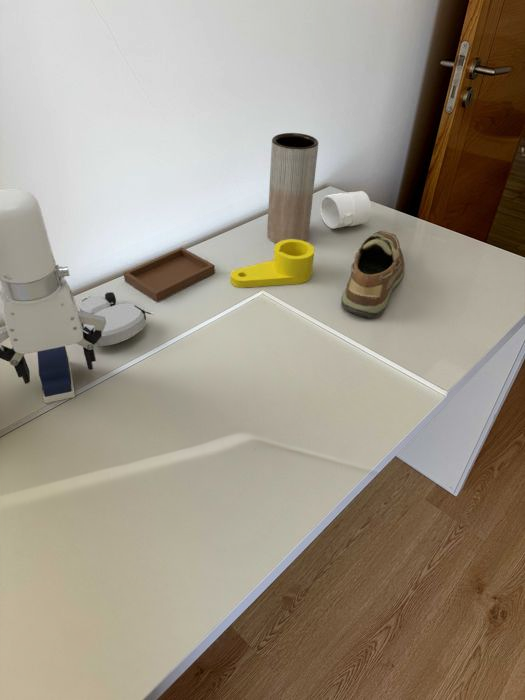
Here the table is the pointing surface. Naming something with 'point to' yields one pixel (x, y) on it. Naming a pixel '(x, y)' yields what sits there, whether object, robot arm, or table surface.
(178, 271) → the tray
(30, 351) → the robot arm
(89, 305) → the robot toy
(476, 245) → the table surface
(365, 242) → the boat shoe
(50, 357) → the navy stepped block
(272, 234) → the planter
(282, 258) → the crank
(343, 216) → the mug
